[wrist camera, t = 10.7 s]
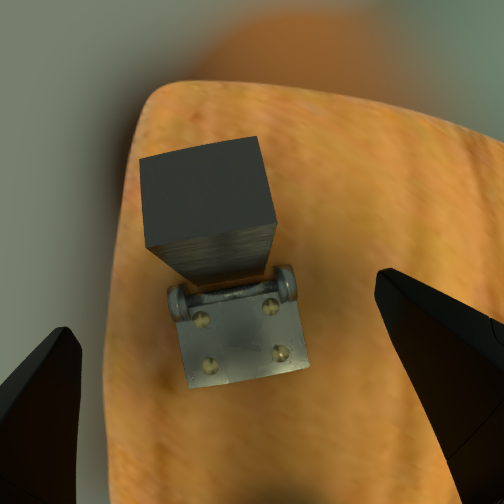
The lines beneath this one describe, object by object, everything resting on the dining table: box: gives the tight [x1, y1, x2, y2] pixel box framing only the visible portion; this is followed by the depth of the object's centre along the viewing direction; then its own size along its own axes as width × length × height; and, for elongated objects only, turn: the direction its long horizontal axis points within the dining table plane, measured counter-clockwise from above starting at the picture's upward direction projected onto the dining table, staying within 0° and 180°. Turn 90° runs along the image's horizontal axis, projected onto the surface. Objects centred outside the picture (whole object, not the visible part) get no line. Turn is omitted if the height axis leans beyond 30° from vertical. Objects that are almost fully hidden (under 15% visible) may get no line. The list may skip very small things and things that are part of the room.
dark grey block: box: [139, 136, 277, 287], centre depth 16 cm, size 4×4×11 cm
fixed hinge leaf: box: [167, 264, 310, 389], centre depth 19 cm, size 7×8×2 cm
